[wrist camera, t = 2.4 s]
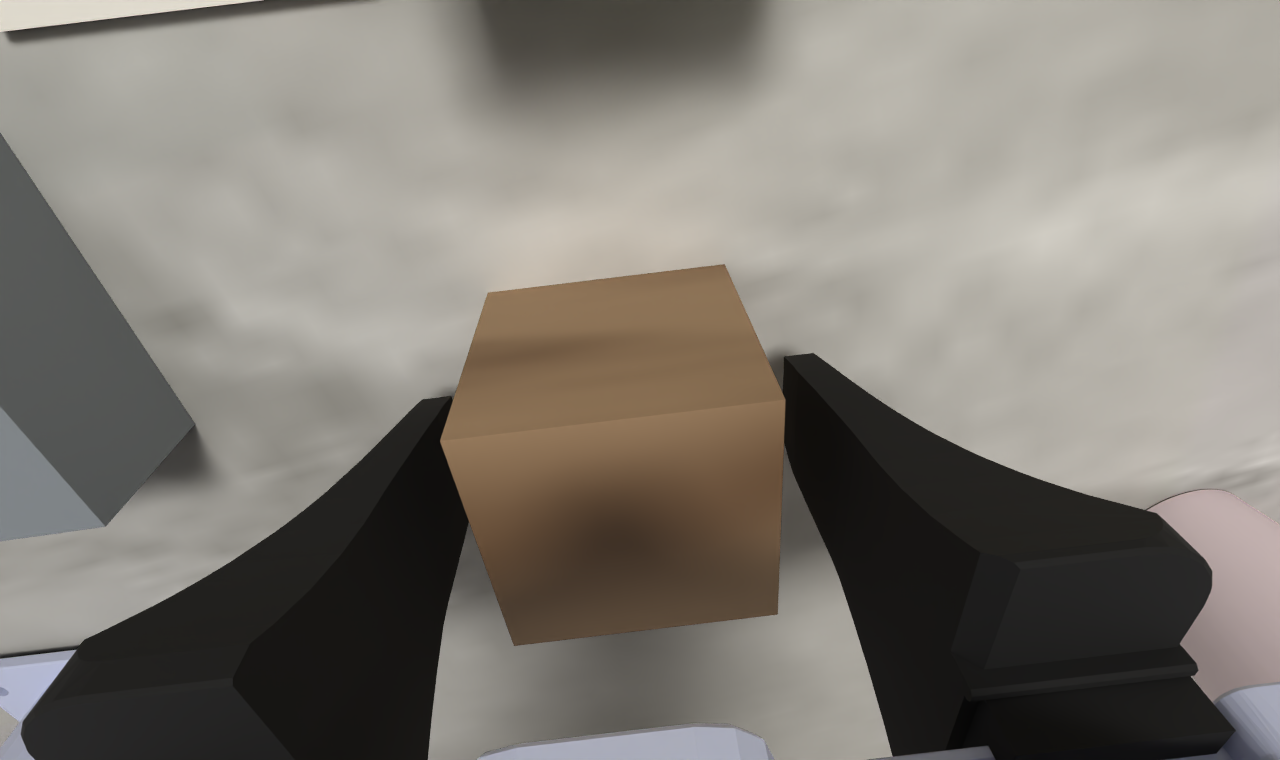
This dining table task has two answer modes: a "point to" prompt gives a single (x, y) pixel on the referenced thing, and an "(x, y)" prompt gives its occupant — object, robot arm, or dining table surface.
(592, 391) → the walnut cube
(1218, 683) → the smoothie
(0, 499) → the slate block
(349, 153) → the dining table surface
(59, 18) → the card
